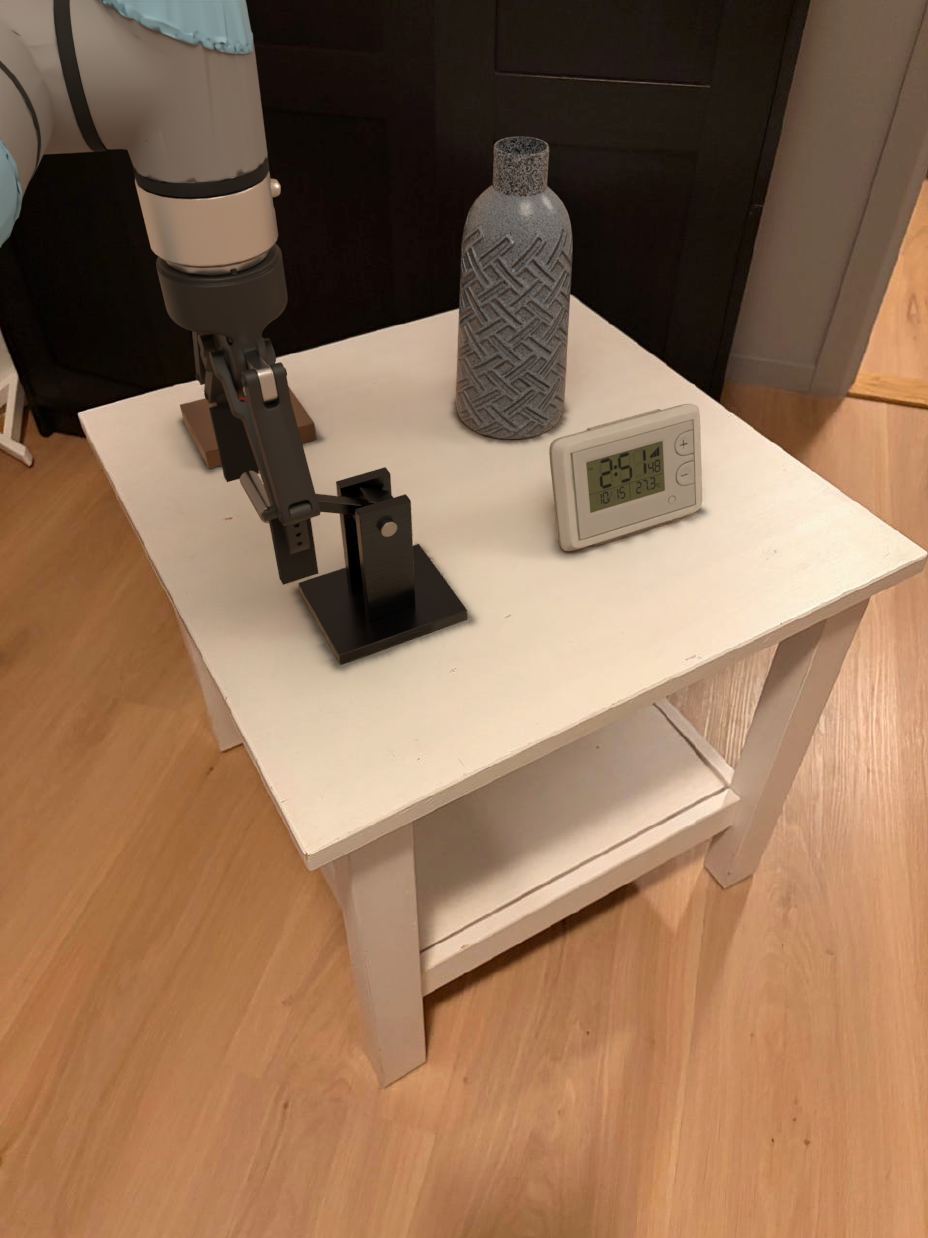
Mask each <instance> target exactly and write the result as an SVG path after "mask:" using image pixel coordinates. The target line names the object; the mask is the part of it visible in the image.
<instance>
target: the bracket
mask: <svg viewBox="0 0 928 1238" xmlns="http://www.w3.org/2000/svg"><path fill="white" fill-rule="evenodd" d="M335 487H336V496H342V497H351V498H355V497H356V494H357V492H358V489H359V487H361V488H370V489H378V490H386V491H389V492H390V493H391V495H392V496H393V494H392V479H391V472H390V471H389V470H388V468H387V467H386V466H385V467H381V468H377V469H374V470H371V471H368V472H364V473H360V474H356V475H353V476H350V477H346V478H343V479H340V480H336V481H335ZM393 497H394V498H391V499H388V500H384V501H381V502H378V503H374V504H371V505H368V506H365V507H361V508H358V509H355V516H356V520H355V519H354V517H353V516H352V515H348V514H339V522H340V530H341V538H342V548H343V555H344V556H343V557H344V565H345V567H342V568H340V569H336V570H333V571H330V572H327V573H324V574H321V575H317V576H314V577H312V578H309V579H306V580H302V581H299V582H298V583H297V585H298V590H299V591H298V592H299V594H300V595H301V597H302V599H303V601H304V603H305V604H306V606H307V608H308V609H309V612H310V613H311V616H312V617H313V619H314V620H315V622H316V624H317V626H318V627H319V630H320V631H321V633H322V635H323V636H324V638H325V640H326V642H327V644H328V645H329V647H330V649H331V651H332V653H333V655H334V656H335V658H336V660H337V661H338V664H339V665H340V666H341V665H344V664H347V663H350V662H351V661H355V660H358V659H361V658H364V657H366V656H369V655H373V654H375V653H377V652H380V651H382V650H386V649H388V648H391V647H394V646H397V645H400V644H403V643H405V642H407V641H411V640H413V639H416V638H419V637H422V636H425V635H427V634H430V633H433V632H436V631H438V630H441V629H444V628H447V627H450V626H453V625H455V624H458V623H460V622H461V623H462V622H463V621H466V620H468V609H467V607H466V606H465V605H464V603H462V601H461V600H460V598H459V596H458V595H457V594H456V593H455V591H454V590H453V589H452V587H451V585H449V583H448V581H447V580H446V578H444V576H443V574H442V573H441V572H440V571H439V569H438V567H436V565H435V564H434V563H433V561H432V560H431V558H430V557H429V556H428V554H427V553H426V552H425V550H424V548H423V547H422V546H421V545H420V543H416V544H413V542H414V541H413V521H412V520H413V519H412V517H413V516H412V501H411V499H410V498H409V496H408V495H407V494H406V493H404V494H401V495H398V496H393Z"/></svg>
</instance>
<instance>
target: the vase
mask: <svg viewBox="0 0 928 1238" xmlns="http://www.w3.org/2000/svg"><path fill="white" fill-rule="evenodd" d="M492 157H493V158H492V183H491V185H490V186H489V187H487V188H486V189H485V190H484V191H482V193H480V195H478V197H477V198H476V199H475V200H474V202H473V203H472V205H471V207H470V208H469V210H468V213H467V215H466V218H465V222H464V227H463V232H462V238H461V250H460V272H459V273H460V276H459V301H458V304H459V305H458V324H457V328H458V329H457V350H456V351H457V354H456V377H455V378H456V379H455V380H456V381H455V407H456V410H457V413H458V416H459V418H460V420H461V421H462V423H463V424H464V425H465V426H467V428H469V429H471V430H473V431H475V432H477V433H479V434H481V435H484V436H488V437H491V438H497V439H503V440H505V439H506V440H518V439H519V440H520V439H526V438H527V439H528V438H532V437H536V436H539V435H543V434H544V433H546V432H548V431H549V430H551V429H552V428H554V427H555V426H556V425H557V424H558V423H559V421H560V419H561V416H562V415H563V412H564V408H565V397H566V382H567V381H566V380H567V364H568V363H567V362H568V346H569V345H568V343H569V324H570V307H571V305H570V303H571V287H572V270H573V269H572V267H573V253H574V252H573V251H574V250H573V245H574V244H573V231H572V223H571V220H570V215H569V213H568V210H567V208H566V206H565V204H564V202H563V201H562V200H561V199H560V197H559V196H558V194H556V192H554V191H553V190H552V189H551V187H549V186H548V176H549V162H550V160H549V159H550V146H549V144H548V143H547V142H546V141H544V140H542V139H539V138H537V137H531V136H510V137H509V136H508V137H504V138H501V139H499V140H497V141H496V142H495V143H494V145H493V155H492Z"/></svg>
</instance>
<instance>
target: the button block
mask: <svg viewBox="0 0 928 1238" xmlns="http://www.w3.org/2000/svg"><path fill="white" fill-rule="evenodd" d="M288 387H289V393H290V398H291V403H292V407H293V411H294V414H295V418H296V422H297V426H298V429H299V433H300V437H301V441H302V444H306V443H309V442H313V441H316V440H317V434H316V425H315V422H314V420H313V418H312V417H311V416H310V415H309V413H308V412H307V410H306V409H305V408H304V406H303V405H302V403H301V402H300V400H299V399H298V397H297V396H296V395H295V393H294V392H293V390H292V389H291V387H290V386H289V385H288ZM210 407H214V403H211V404H209V403H208V401H207V400H206V399H205V398H202V399H201V398H200V399H197V400H192V401H189V402H185V403H181V404H179V409H180V412H181V416H182V420H183V423H184V425H185V427H186V429H187V431H188V432H189V434H190V436H191V439H192V440H193V442H194V444H195V446H196V448H197V449H198V451H199V454H200V455H201V457H202V459H203V461H204V463H205V465H206V466H207V468H208V469H209V470H210V469H214V468H217V467H222V465H221V460H220V456H219V451H218V447H217V442H216V438H215V433H214V428H213V424H212V419H211V415H210V410H209V408H210Z"/></svg>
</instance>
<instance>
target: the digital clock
mask: <svg viewBox="0 0 928 1238" xmlns="http://www.w3.org/2000/svg"><path fill="white" fill-rule="evenodd" d="M700 415H701V414H700V409H699V407H698V405H697V404H694V403H684V404H683V403H682V404H679V405H675V406H672V407H668V408H664V409H661V408H657V409H653V410H650V411H647V412H643V413H639V414H635V415H631V416H628V417H624V418H620V419H617V420H613V421H610V422H609V421H608V422H606V423H602V424H598V425H594V426H591V427H587V428H586V429H585V430H582V431H579V432H575V433H571V434H568V435H564V436H560V437H558V438H556V439H554V440H552V442H550V445H549V449H548V451H549V453H548V455H549V466H550V476H551V485H552V494H553V504H554V514H555V515H554V516H555V523H556V533H557V535H556V536H557V540H558V541H557V542H558V544H559V547H560V548H561V549H562V550H563V551H565V552H573V551H577V550H580V549H584V548H587V547H591V546H593V547H597V546H600V545H603V544H606V543H610V542H613V541H616V540H619V539H622V538H625V537H629V536H632V535H635V534H638V533H642V532H644V531H648V530H651V529H654V528H658V527H661V526H663V525H667V524H670V523H672V521H673V520H676V519H679V518H683V517H685V516H689V515H692V514H694V513H696V512H698V511H699V510H700V509H701V507H702V505H703V473H702V472H703V470H702V469H703V468H702V441H701V439H702V437H701V436H702V435H701V416H700Z"/></svg>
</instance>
